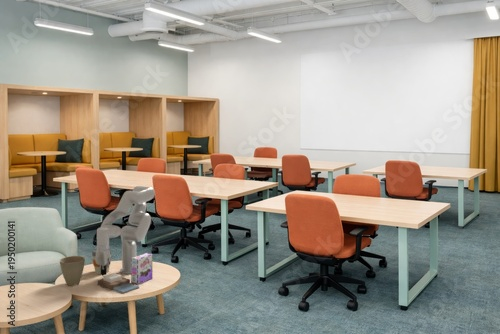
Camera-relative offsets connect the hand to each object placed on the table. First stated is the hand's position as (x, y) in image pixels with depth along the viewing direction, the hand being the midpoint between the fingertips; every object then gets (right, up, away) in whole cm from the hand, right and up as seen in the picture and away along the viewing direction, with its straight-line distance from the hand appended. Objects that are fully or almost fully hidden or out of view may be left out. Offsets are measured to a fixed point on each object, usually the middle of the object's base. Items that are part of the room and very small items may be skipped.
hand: (103, 274), depth 292 cm
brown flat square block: (+8, -5, -6) cm, 11 cm away
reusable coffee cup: (-7, -3, +19) cm, 21 cm away
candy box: (+24, -5, +3) cm, 25 cm away
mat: (+18, -6, -13) cm, 23 cm away
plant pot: (-18, -5, -5) cm, 19 cm away
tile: (+7, -2, -5) cm, 9 cm away
